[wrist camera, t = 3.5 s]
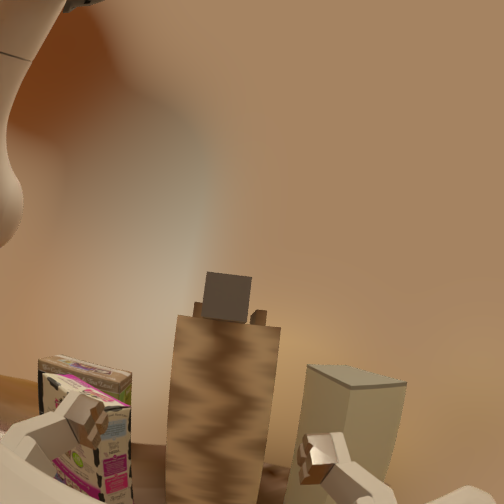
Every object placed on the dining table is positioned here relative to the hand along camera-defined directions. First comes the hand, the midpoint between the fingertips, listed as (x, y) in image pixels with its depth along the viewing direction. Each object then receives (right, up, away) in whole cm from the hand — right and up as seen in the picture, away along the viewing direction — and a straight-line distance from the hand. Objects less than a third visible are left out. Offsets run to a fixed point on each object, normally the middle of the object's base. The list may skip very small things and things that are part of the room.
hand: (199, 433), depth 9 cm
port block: (+8, -25, +6) cm, 27 cm away
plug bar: (0, 0, +20) cm, 20 cm away
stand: (-3, -26, +17) cm, 31 cm away
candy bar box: (-17, -23, +8) cm, 29 cm away
